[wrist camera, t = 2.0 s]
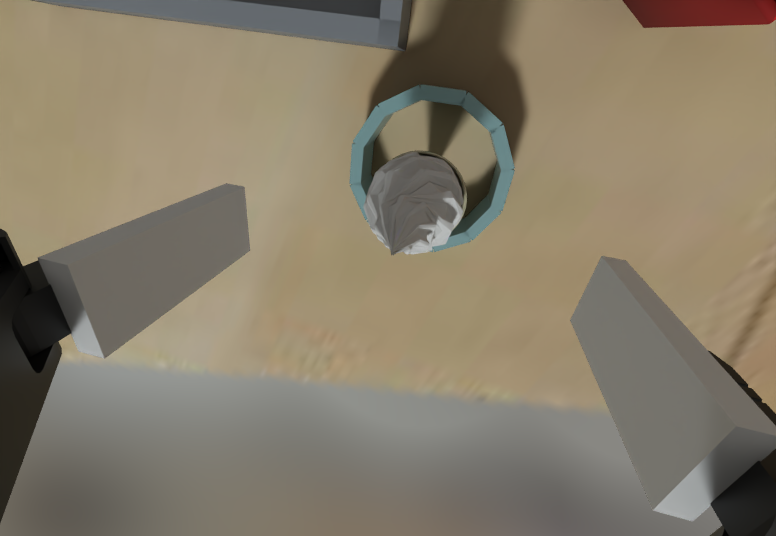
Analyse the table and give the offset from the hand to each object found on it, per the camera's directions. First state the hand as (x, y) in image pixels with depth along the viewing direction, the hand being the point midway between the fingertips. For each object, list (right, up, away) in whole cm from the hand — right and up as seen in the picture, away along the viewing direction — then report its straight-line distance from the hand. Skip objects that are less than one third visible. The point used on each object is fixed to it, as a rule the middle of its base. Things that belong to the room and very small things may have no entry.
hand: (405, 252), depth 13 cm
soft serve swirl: (+3, +7, +13) cm, 15 cm away
